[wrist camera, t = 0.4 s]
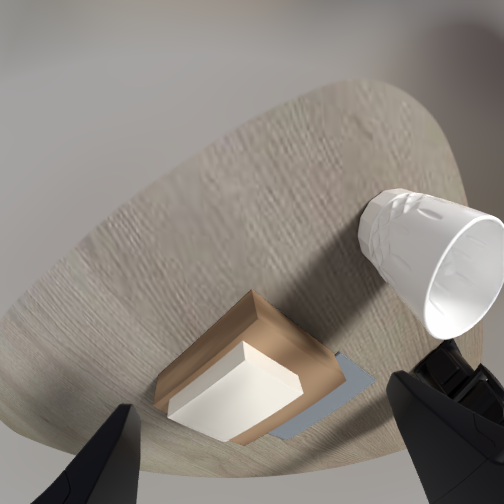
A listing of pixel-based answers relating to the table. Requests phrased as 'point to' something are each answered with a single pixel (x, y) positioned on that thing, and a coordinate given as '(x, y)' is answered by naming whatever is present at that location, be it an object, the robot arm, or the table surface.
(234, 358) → the white sticky note pad
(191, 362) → the tan beveled block
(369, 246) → the white cup
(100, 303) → the table surface
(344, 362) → the mat
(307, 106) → the table surface
